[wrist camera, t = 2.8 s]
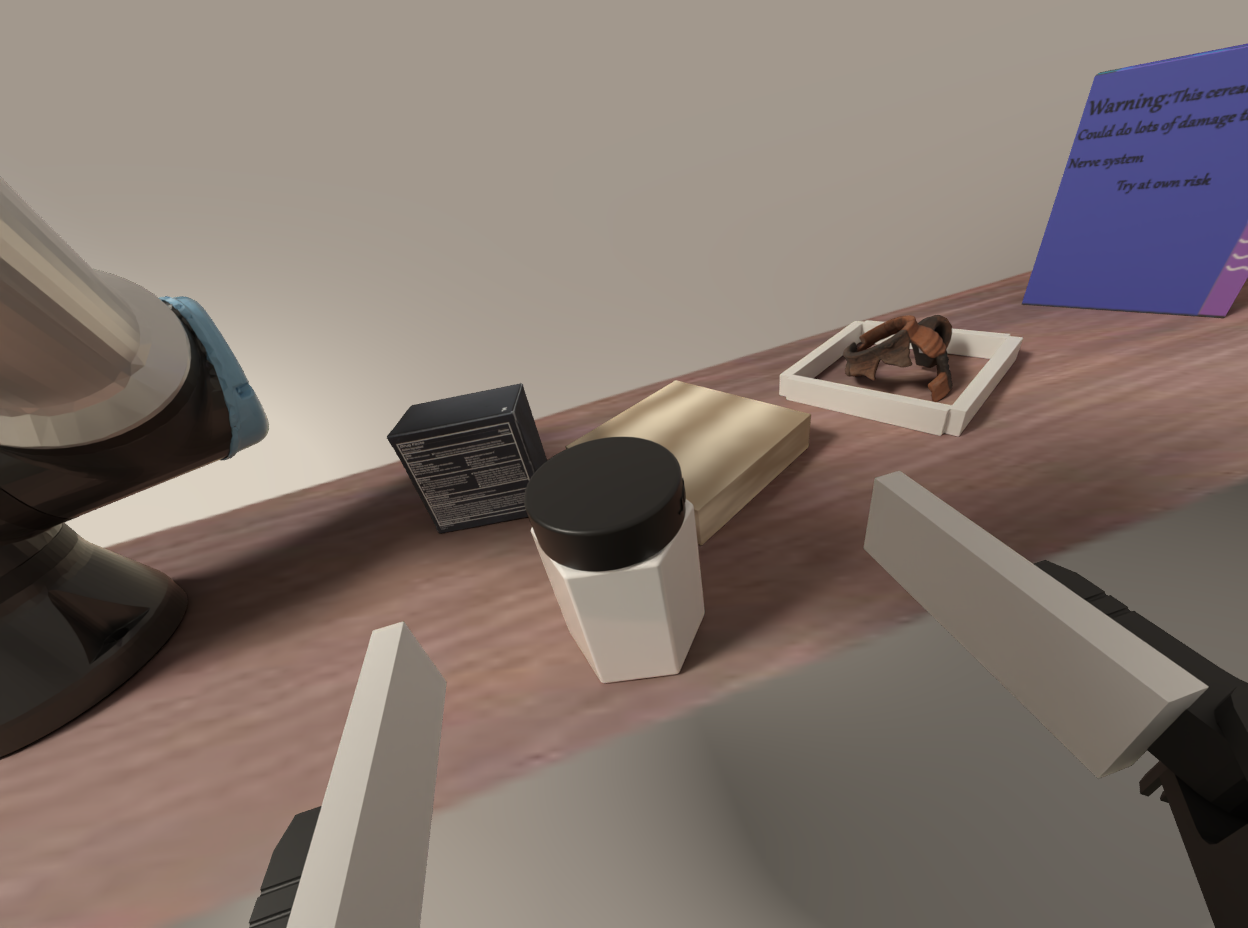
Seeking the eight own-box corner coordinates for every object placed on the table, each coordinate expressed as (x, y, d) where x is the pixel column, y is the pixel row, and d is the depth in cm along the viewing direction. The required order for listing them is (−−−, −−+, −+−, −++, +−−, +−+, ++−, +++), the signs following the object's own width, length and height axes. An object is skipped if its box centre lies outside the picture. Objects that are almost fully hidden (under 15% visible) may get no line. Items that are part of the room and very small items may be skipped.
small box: (554, 473, 46) (524, 379, 40) (550, 514, 40) (515, 412, 34) (453, 492, 46) (409, 401, 40) (436, 536, 41) (382, 437, 35)
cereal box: (1227, 304, 51) (1393, 15, 38) (1224, 318, 49) (1399, 15, 35) (1032, 293, 63) (1105, 70, 49) (1021, 304, 60) (1095, 73, 47)
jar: (732, 636, 27) (723, 480, 21) (620, 718, 25) (568, 567, 18) (649, 554, 34) (623, 417, 28) (554, 611, 31) (498, 473, 25)
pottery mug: (929, 421, 43) (891, 349, 41) (850, 426, 52) (815, 367, 50) (997, 350, 46) (964, 280, 44) (911, 366, 55) (881, 308, 53)
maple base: (573, 476, 45) (565, 446, 43) (678, 407, 53) (675, 380, 51) (701, 545, 34) (697, 510, 32) (808, 446, 42) (811, 414, 40)
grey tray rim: (776, 397, 51) (777, 376, 49) (854, 337, 61) (856, 319, 59) (956, 439, 39) (963, 414, 38) (1017, 357, 49) (1024, 335, 48)
